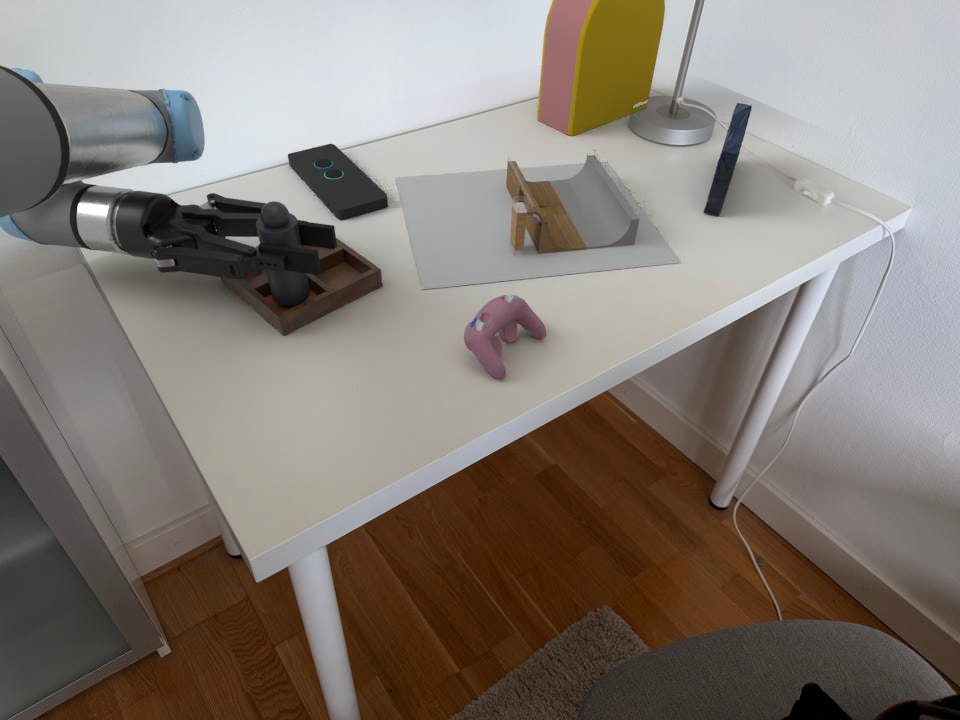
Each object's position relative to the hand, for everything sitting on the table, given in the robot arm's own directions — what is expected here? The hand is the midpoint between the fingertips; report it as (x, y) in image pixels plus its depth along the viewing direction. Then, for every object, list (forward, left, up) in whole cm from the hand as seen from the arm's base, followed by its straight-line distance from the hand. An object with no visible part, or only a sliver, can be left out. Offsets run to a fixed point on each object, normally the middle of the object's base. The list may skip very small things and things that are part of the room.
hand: (326, 249), depth 76 cm
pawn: (-3, +4, -7) cm, 9 cm away
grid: (0, +8, -9) cm, 12 cm away
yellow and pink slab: (+69, +17, -9) cm, 72 cm away
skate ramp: (+33, 0, -9) cm, 35 cm away
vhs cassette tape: (+62, -14, -9) cm, 65 cm away
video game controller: (+10, -18, -9) cm, 23 cm away
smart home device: (+18, +26, -9) cm, 33 cm away
